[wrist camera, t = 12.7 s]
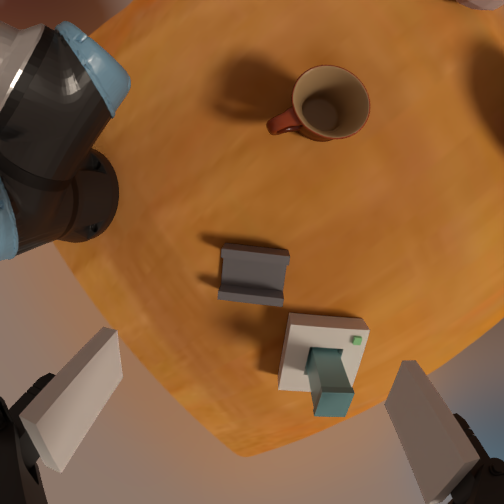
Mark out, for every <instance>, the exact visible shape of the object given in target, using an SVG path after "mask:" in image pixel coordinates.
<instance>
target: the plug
mask: <svg viewBox="0 0 504 504" xmlns="http://www.w3.org/2000/svg"><path fill="white" fill-rule="evenodd" d="M306 367H307V373H308V378H309V384H310V389H311V395H312V401H313V406H314V409H313V412H314V416H323V417H345V416H346V413H347V411H348V408H349V406H350V403H351V401H352V398H353V396H354V390H353V388H352V387H351V385H350V382H349V380H348V377H347V374H346V371H345V369H344V366H343V363H342V360H341V358H340V355H339V352H338V350H337V348H320V347H310V349H309V353H308V358H307V362H306Z"/></svg>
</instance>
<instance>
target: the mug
mask: <svg viewBox="0 0 504 504" xmlns="http://www.w3.org/2000/svg"><path fill="white" fill-rule="evenodd" d="M291 101H292V107H291V108H289V109H287V110H286V111H285V112H284V113H282V114H280V115H278V116H275V117H273V118H272V119H270V120H269V121H268V122H267V124H266V127H267V129H268V131H269V133H270V134H271V135H279V134H282V133H286V132H293V131H299V132H300V134H302V135H303V136H305V137H306V138H308V139H310V140H313V141H319V142H325V141H330V140H333V139H343V138H347V137H350V136H352V135H354V134H356V133H357V132H358V131H360V130H361V129H362V128H363V126H364V125H365V123H366V122H367V120H368V117H369V113H370V99H369V95H368V93H367V90H366V88H365V86H364V85H363V83H362V82H361V81H360V80H359V79H358V78H357V77H356V76H355V75H354V74H352V73H351V72H349V71H348V70H346V69H344V68H341V67H338V66H333V65H320V66H316V67H313V68H310V69H309V70H307V71H305V72H304V73H303V74H302V75H301V76H300V77H299V78H298V79H297V81H296V83H295V85H294V87H293V91H292V97H291Z"/></svg>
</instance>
